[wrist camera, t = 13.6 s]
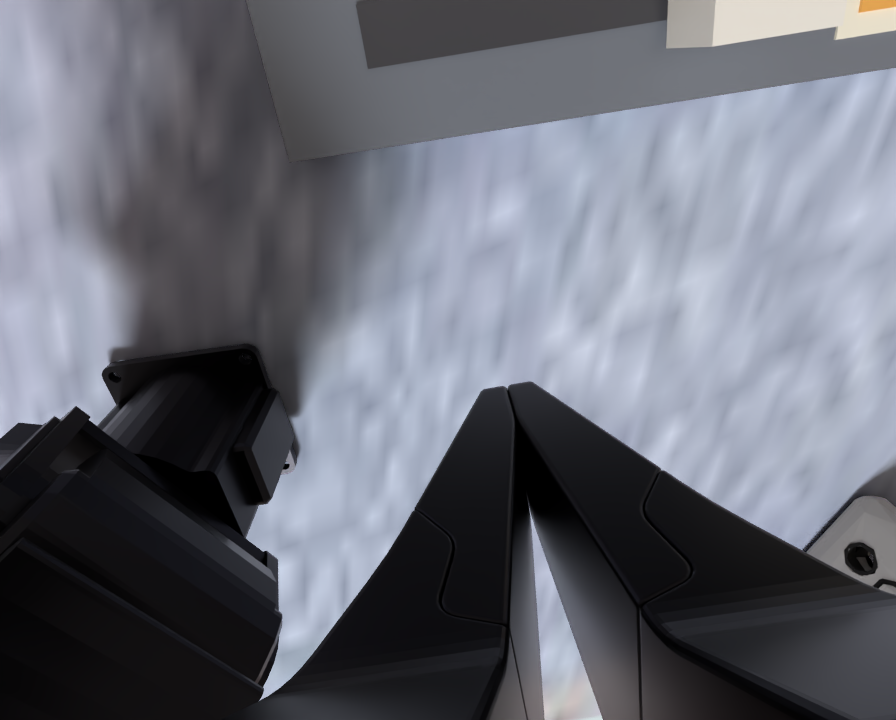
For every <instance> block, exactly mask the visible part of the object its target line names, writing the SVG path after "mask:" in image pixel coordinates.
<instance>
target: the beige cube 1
mask: <svg viewBox="0 0 896 720" xmlns="http://www.w3.org/2000/svg"><path fill="white" fill-rule="evenodd" d="M846 4H847V0H668V16H667V41H666V48H692V47H714V46H720V45H726V44H732V43H738V42H745V41H751V40H757V39H763V38H769V37H776V36H782V35H788V34H794V33H800V32H806V31H813V30H819V29H825V28H831V27H837V26H843V22H844V16H845V10H846Z"/></svg>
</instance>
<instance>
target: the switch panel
mask: <svg viewBox="0 0 896 720" xmlns="http://www.w3.org/2000/svg"><path fill="white" fill-rule="evenodd" d="M246 3H247V7H248V10H249V14H250V18H251V21H252V25H253V29H254V33H255V36H256V40H257V44H258V47H259V51H260V55H261V59H262V62H263V66H264V70H265V73H266V77H267V81H268V85H269V88H270V92H271V96H272V99H273V103H274V107H275V111H276V114H277V118H278V122H279V125H280V129H281V133H282V137H283V140H284V144H285V148H286V151H287V155H288V159H289V162H290V163H291V162H297V161H303V160H310V159H316V158H323V157H329V156H335V155H342V154H348V153H354V152H361V151H367V150H374V149H380V148H386V147H393V146H399V145H405V144H412V143H418V142H424V141H431V140H437V139H444V138H450V137H456V136H463V135H469V134H475V133H482V132H488V131H495V130H501V129H507V128H514V127H520V126H526V125H533V124H539V123H546V122H552V121H558V120H565V119H571V118H577V117H584V116H590V115H597V114H603V113H609V112H616V111H622V110H628V109H635V108H641V107H648V106H654V105H660V104H667V103H673V102H679V101H686V100H692V99H699V98H705V97H711V96H718V95H724V94H730V93H737V92H743V91H750V90H756V89H762V88H769V87H775V86H781V85H788V84H794V83H800V82H807V81H813V80H820V79H826V78H832V77H839V76H845V75H851V74H858V73H864V72H871V71H877V70H883V69H890V68H896V0H847V4H846V10H845V16H844V22H843V26H837V27H831V28H825V29H819V30H813V31H806V32H800V33H794V34H788V35H782V36H776V37H769V38H763V39H757V40H751V41H745V42H738V43H732V44H726V45H720V46H714V47H692V48H666V41H667V16H668V0H246Z"/></svg>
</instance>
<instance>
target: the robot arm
mask: <svg viewBox="0 0 896 720" xmlns="http://www.w3.org/2000/svg"><path fill="white" fill-rule="evenodd" d="M242 354H247V355H249V356H250V357H251V358H252V360H246V359H244V358H243V356H242ZM114 372H116V373H118V374H119V375H120V376H121V378H119V377H117V376H116V375H115V374H114ZM102 377H103V380H104V382H105V384H106V386H107V388H108V389H109V391H110V393H111V395H112V397H113V399H114V401H115V403H116V406H115V407H114V408H113V409H112V410H111V412H110V413H109V414H108V415H107V416H106V417H105V418H104V419H103V420H102V421H101V422H100V423H99V425H98V426H96V425H95V424H93V423H92V422H91V421H89V418H90V416H89V415H87V414H86V413H85V412H83V411H82V410H81V409H79V408H78V407H77V406H75V407H74V408H73V409H72V410H71V411H70V412H68V413H67V414H66V415H65V416H64V417H62V418H61V419H60V420H59V419H58V418H57V417H55V416H54V417H53V418H52V419H51V420H49V421H48V422H47V423H45V424H43V425H37V424H26V423H18V424H17V425H15V426H14V427H13V428H12V429H11V430H10V431H9V432H7V433H6V434H5V435H4V436H3V437H2V438H1V439H0V720H544V706H543V692H542V677H541V662H540V647H539V632H538V618H537V603H536V588H535V573H534V558H533V544H532V529H531V519H530V512H531V516H532V519H533V522H534V525H535V528H536V531H537V534H538V537H539V540H540V542H541V545H542V548H543V551H544V554H545V557H546V559H547V562H548V565H549V568H550V571H551V573H552V576H553V579H554V582H555V585H556V588H557V590H558V593H559V596H560V599H561V602H562V605H563V607H564V610H565V613H566V616H567V619H568V622H569V624H570V627H571V630H572V633H573V636H574V639H575V641H576V644H577V647H578V650H579V653H580V656H581V658H582V661H583V664H584V667H585V670H586V673H587V675H588V678H589V681H590V684H591V687H592V689H593V692H594V695H595V698H596V701H597V704H598V706H599V709H600V712H601V715H602V718H603V720H896V595H895V594H892V593H888V592H885V591H883V590H880V589H878V588H875V587H873V586H870V585H868V584H865V583H863V582H861V581H859V580H857V579H855V578H853V577H851V576H849V575H847V574H845V573H843V572H841V571H840V570H838V569H836V568H834V567H832V566H830V565H828V564H826V563H825V562H823V561H821V560H819V559H817V558H815V557H813V556H812V555H810V554H808V553H806V552H804V551H802V550H800V549H798V548H797V547H795V546H793V545H791V544H789V543H787V542H785V541H783V540H782V539H780V538H778V537H776V536H774V535H772V534H770V533H768V532H767V531H765V530H763V529H761V528H759V527H757V526H755V525H754V524H752V523H750V522H748V521H746V520H744V519H743V518H741V517H739V516H737V515H736V514H734V513H732V512H730V511H728V510H727V509H725V508H723V507H721V506H720V505H718V504H716V503H714V502H712V501H711V500H709V499H708V498H706V497H705V496H703V495H701V494H700V493H698V492H697V491H695V490H693V489H692V488H690V487H689V486H687V485H686V484H684V483H682V482H681V481H679V480H678V479H676V478H675V477H673V476H672V475H670V474H669V473H667V472H666V471H664V470H663V471H661V469H660V467H658V466H657V465H655V464H654V463H652V462H651V461H649V460H648V459H646V458H645V457H643V456H642V455H640V454H639V453H637V452H636V451H634V450H633V449H631V448H630V447H628V446H627V445H625V444H624V443H622V442H621V441H620V440H618V439H617V438H615V437H614V436H612V435H611V434H609V433H608V432H606V431H605V430H603V429H602V428H600V427H599V426H597V425H596V424H594V423H593V422H591V421H590V420H588V419H587V418H585V417H584V416H582V415H581V414H579V413H578V412H576V411H575V410H573V409H572V408H570V407H569V406H567V405H566V404H564V403H563V402H561V401H560V400H558V399H557V398H556V397H554V396H553V395H551V394H550V393H548V392H547V391H545V390H544V389H542V388H541V387H539V386H538V385H536V384H535V383H533V382H523V383H517V384H512V385H510V386H508V388H506V387H504V386H500V387H494V388H488V389H484V390H482V391H481V392H480V394H479V396H478V398H477V399H476V401H475V403H474V405H473V406H472V408H471V410H470V412H469V414H468V415H467V417H466V419H465V421H464V422H463V424H462V426H461V428H460V429H459V431H458V433H457V435H456V436H455V438H454V440H453V442H452V443H451V445H450V447H449V449H448V451H447V452H446V454H445V456H444V458H443V459H442V461H441V463H440V465H439V466H438V468H437V470H436V472H435V473H434V475H433V477H432V479H431V480H430V482H429V484H428V486H427V487H426V489H425V491H424V493H423V495H422V496H421V498H420V500H419V502H418V503H417V505H416V507H415V510H414V511H413V512H412V513H411V515H410V517H409V519H408V520H407V522H406V524H405V526H404V527H403V529H402V531H401V532H400V534H399V536H398V537H397V539H396V540H395V542H394V544H393V545H392V547H391V549H390V550H389V552H388V553H387V555H386V556H385V558H384V559H383V560H382V562H381V563H380V565H379V566H378V567H377V569H376V570H375V572H374V573H373V574H372V576H371V577H370V579H369V580H368V581H367V583H366V584H365V585H364V587H363V588H362V589H361V591H360V592H359V593H358V595H357V596H356V597H355V599H354V600H353V601H352V603H351V604H350V605H349V607H348V608H347V609H346V611H345V612H344V613H343V615H342V616H341V617H340V619H339V620H338V621H337V623H336V624H335V625H334V627H333V628H332V629H331V631H330V632H329V633H328V634H327V636H326V637H325V638H324V640H323V641H322V642H321V644H320V645H319V646H318V648H317V649H316V650H315V652H314V653H313V654H312V656H311V657H310V658H309V659H308V660H307V662H306V663H305V664H304V665H303V667H302V668H301V669H300V670H299V671H298V672H297V673H296V674H295V675H294V676H293V677H292V678H291V679H290V680H289V681H288V682H286V683H285V684H284V685H283V686H282V687H281V688H279V689H278V690H276V691H275V692H274V693H272V694H271V695H269V696H268V697H266V698H264V699H262V700H260V698H261V697H262V695H263V691H264V688H263V686H264V684H265V682H266V680H267V678H268V676H269V674H270V671H271V669H272V666H273V664H274V661H275V657H276V653H277V650H278V642H279V634H280V631H281V628H282V614H281V612H279V607H278V559H277V558H275V557H274V556H273V555H272V554H270V553H269V552H268V551H264V552H263V551H261V550H260V549H259V548H257V547H256V546H255V545H253V544H252V543H251V542H249V541H248V540H247V539H246V536H247V534H248V531H249V529H250V526H251V524H252V521H253V519H254V516H255V514H256V511H257V509H258V506H259V505H263V504H268V502H269V501H270V500H271V498H272V496H273V494H274V491H275V488H276V486H277V483H278V480H279V478H280V475H281V474H288V473H291V472H292V471H294V469H295V466H296V463H297V457H296V455H295V452H294V449H293V446H292V443H293V440H294V435H293V432H292V429H291V426H290V423H289V420H288V417H287V414H286V411H285V408H284V406H283V403H282V400H281V397H280V394H279V392H278V391H277V390H275V389H274V388H272V386H271V383H270V380H269V377H268V374H267V371H266V369H265V366H264V363H263V360H262V357H261V354H260V352H259V350H258V349H257V348H256V347H255V346H253V345H250V344H240V345H233V346H226V347H219V348H211V349H204V350H197V351H190V352H183V353H176V354H168V355H161V356H154V357H147V358H140V359H133V360H125V361H118V362H113V363H110V364H109V365H108V366H107V367H106V368H105V369H104V370H103V372H102ZM507 390H508V391H507ZM285 462H288V463H289V464H285ZM528 503H529V504H528ZM529 508H530V511H529ZM259 700H260V701H259Z"/></svg>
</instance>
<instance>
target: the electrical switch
mask: <svg viewBox="0 0 896 720" xmlns="http://www.w3.org/2000/svg"><path fill="white" fill-rule="evenodd" d="M806 553H808V554H810V555H812V556H813V557H815V558H817V559H819V560H821V561H823V562H825V563H826V564H828V565H830V566H832V567H834V568H836V569H838V570H840V571H841V572H843V573H845V574H847V575H849V576H851V577H853V578H855V579H857V580H859V581H861V582H863V583H865V584H868V585H870V586H873V587H875V588H878V589H880V590H883V591H885V592H888V593H892V594H895V595H896V507H895V506H894V505H893V504H892V503H890V502H889V501H888V500H887V499H886V498H882V497H878V496H862V497H860V498H857V499H855V500H854V501H853V502H852V503H851V504H850V505H849V507H848V508H847V509H846V510H845V511H844V512H843V513H842V514H841V515H840V516H839V517H838V518H837V520H836V521H835V522H834V523H833V524H832V525H831V526H830V527H829V528H828V529H827V530H826V531H825V532H824V534H823V535H822V536H821V537H820V538H819V539H818V540H817V541H816V542H815V543H814V544H813V545H812V547H811V548H810V549H809V550H808V551H807V552H806ZM870 554H872V555H873V557H874V560H873V563H872V561H871V559H870V558H869V555H870Z"/></svg>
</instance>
